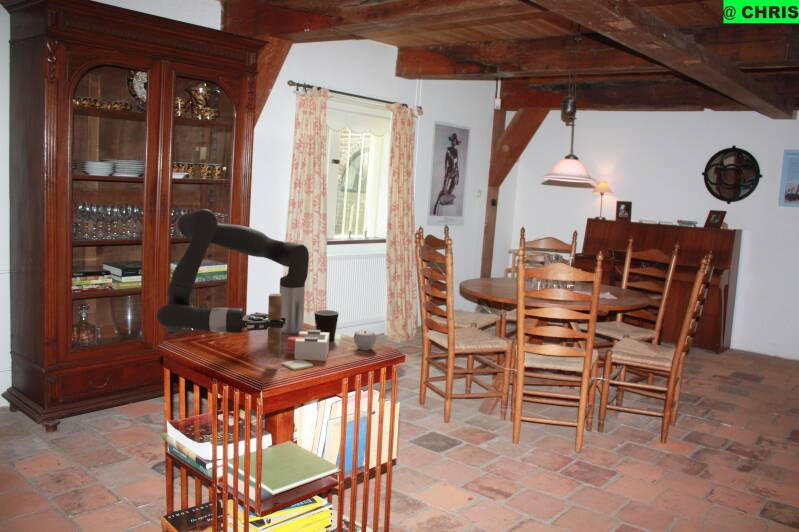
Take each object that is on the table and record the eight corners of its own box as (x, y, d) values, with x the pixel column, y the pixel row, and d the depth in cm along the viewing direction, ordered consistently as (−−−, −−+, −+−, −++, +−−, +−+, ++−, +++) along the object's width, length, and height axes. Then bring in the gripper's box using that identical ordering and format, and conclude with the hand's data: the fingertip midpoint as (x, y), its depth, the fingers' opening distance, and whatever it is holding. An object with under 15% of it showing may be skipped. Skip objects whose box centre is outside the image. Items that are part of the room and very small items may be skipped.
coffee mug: (333, 343, 229) (334, 316, 228) (310, 341, 231) (311, 313, 230) (342, 336, 241) (343, 309, 239) (320, 333, 242) (321, 307, 241)
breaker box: (294, 359, 208) (295, 338, 207) (299, 348, 221) (299, 328, 220) (325, 360, 209) (326, 340, 208) (328, 349, 222) (329, 330, 221)
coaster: (281, 364, 202) (281, 362, 202) (300, 361, 207) (300, 359, 206) (294, 370, 197) (294, 368, 197) (313, 366, 201) (313, 364, 201)
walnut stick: (267, 357, 197) (268, 295, 194) (269, 353, 201) (270, 293, 198) (279, 357, 197) (280, 296, 194) (280, 354, 201) (282, 294, 198)
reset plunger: (287, 349, 213) (287, 339, 212) (288, 347, 216) (289, 336, 216) (305, 350, 213) (306, 340, 212) (306, 347, 216) (307, 337, 216)
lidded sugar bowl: (377, 347, 228) (378, 329, 227) (373, 353, 220) (374, 334, 219) (355, 345, 229) (356, 327, 228) (350, 351, 221) (351, 332, 220)
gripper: (221, 313, 189) (281, 315, 190) (232, 303, 203) (287, 305, 204) (221, 338, 190) (280, 340, 191) (232, 326, 204) (287, 328, 205)
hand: (284, 322), depth 198 cm, fingers closed on walnut stick, 3 cm apart
